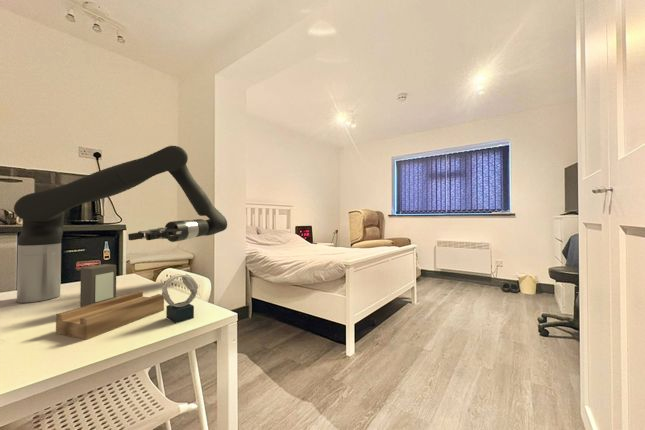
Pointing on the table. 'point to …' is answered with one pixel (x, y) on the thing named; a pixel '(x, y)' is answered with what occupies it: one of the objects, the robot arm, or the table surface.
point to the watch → (182, 309)
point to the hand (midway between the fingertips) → (137, 237)
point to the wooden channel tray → (107, 315)
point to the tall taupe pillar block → (97, 284)
